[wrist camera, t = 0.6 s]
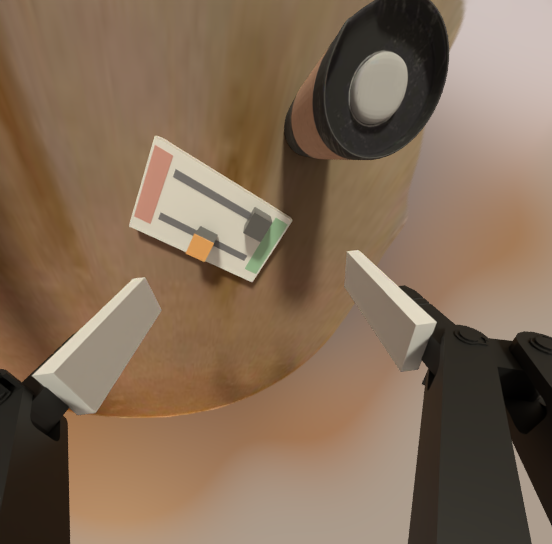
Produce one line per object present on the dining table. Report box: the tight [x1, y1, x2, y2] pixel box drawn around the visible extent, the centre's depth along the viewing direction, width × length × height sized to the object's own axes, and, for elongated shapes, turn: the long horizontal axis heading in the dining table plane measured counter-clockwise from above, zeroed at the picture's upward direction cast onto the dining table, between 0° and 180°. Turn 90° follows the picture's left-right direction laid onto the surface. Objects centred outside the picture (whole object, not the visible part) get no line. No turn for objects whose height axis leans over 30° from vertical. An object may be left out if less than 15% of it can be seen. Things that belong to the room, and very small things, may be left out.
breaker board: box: [129, 136, 293, 282], centre depth 32 cm, size 22×14×6 cm, turn 59°
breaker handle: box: [186, 226, 218, 262], centre depth 32 cm, size 3×4×4 cm
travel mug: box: [284, 0, 449, 160], centre depth 20 cm, size 8×8×20 cm
